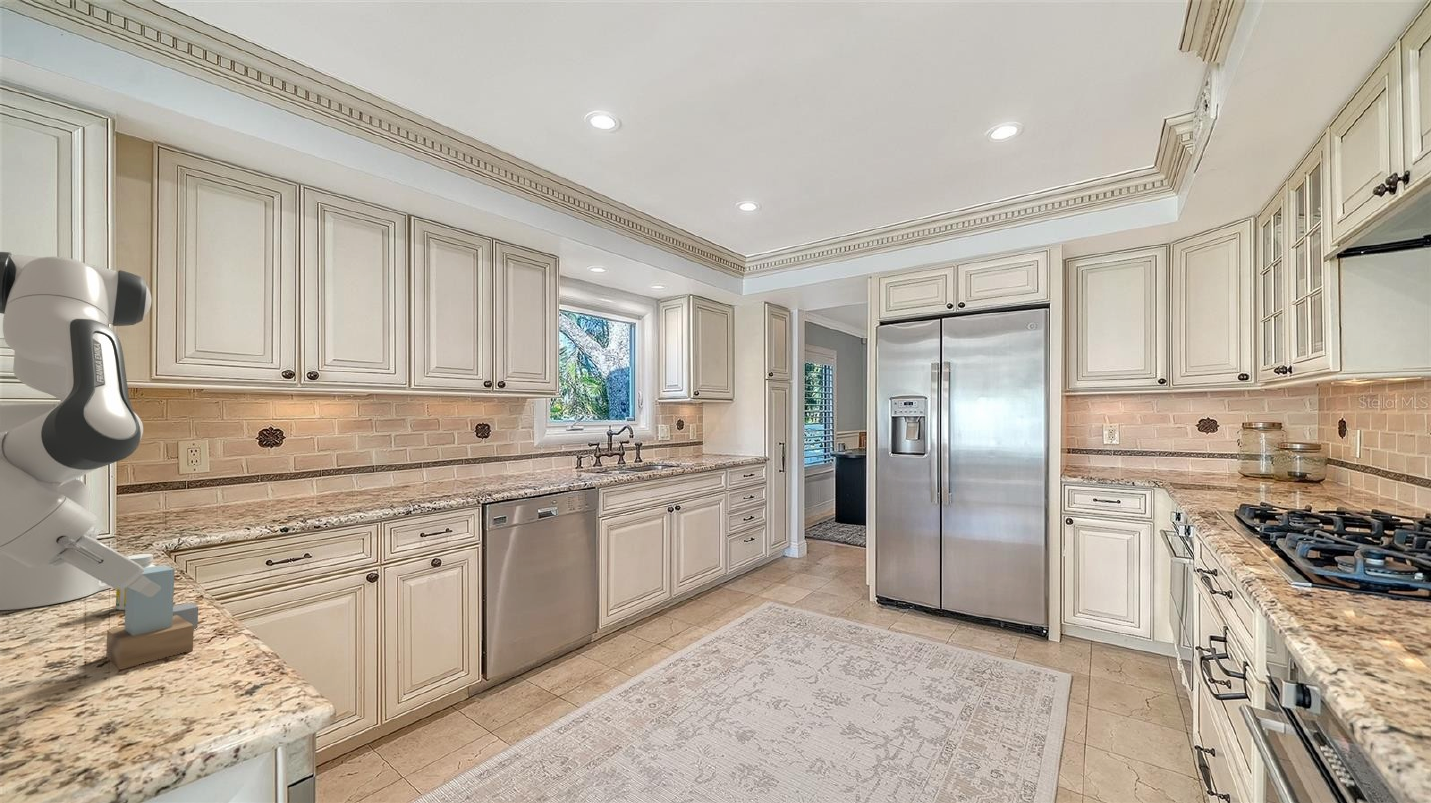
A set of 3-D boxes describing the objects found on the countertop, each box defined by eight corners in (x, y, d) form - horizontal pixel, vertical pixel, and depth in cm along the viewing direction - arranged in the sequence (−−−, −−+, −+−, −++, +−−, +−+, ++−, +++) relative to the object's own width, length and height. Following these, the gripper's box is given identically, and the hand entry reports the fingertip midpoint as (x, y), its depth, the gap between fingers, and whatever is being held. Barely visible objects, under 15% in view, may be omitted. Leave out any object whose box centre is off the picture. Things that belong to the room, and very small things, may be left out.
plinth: (106, 656, 86) (107, 630, 86) (176, 639, 93) (177, 615, 93) (120, 669, 82) (121, 641, 82) (192, 650, 89) (193, 625, 89)
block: (159, 631, 96) (160, 608, 96) (190, 625, 100) (191, 602, 100) (165, 637, 94) (166, 613, 94) (197, 630, 97) (198, 606, 98)
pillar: (124, 629, 87) (127, 570, 87) (163, 621, 90) (165, 564, 91) (132, 635, 84) (135, 575, 85) (172, 626, 88) (174, 569, 88)
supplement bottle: (107, 610, 106) (109, 559, 106) (136, 601, 111) (138, 552, 112) (135, 610, 106) (137, 559, 106) (163, 601, 111) (165, 553, 112)
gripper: (95, 523, 75) (188, 580, 83) (61, 509, 86) (146, 560, 94) (42, 564, 72) (145, 619, 79) (13, 543, 82) (107, 593, 90)
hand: (145, 587), depth 87 cm, fingers open, 8 cm apart
